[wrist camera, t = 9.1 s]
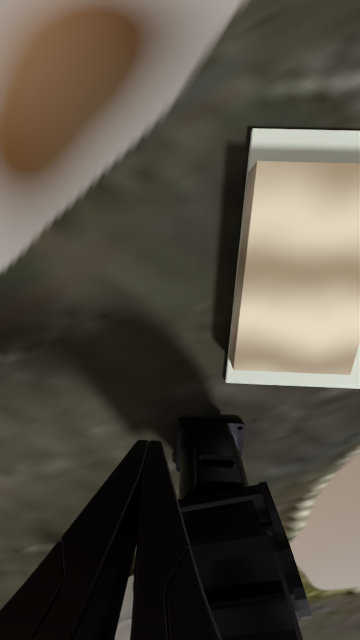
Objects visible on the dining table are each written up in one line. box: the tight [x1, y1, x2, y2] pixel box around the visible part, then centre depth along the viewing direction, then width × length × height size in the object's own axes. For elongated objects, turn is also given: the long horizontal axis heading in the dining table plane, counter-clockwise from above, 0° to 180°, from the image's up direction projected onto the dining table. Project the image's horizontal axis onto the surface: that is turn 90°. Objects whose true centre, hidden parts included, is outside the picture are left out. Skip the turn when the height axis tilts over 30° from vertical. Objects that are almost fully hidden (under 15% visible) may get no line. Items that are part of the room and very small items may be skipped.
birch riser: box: [229, 161, 360, 375], centre depth 17 cm, size 14×9×2 cm, turn 178°
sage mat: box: [225, 128, 360, 389], centre depth 17 cm, size 19×19×1 cm
